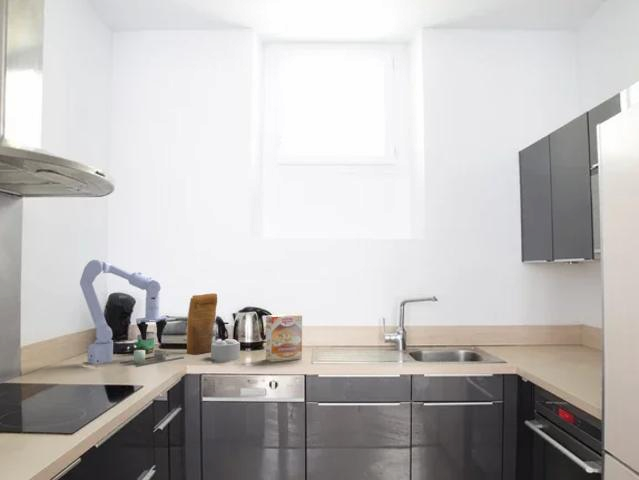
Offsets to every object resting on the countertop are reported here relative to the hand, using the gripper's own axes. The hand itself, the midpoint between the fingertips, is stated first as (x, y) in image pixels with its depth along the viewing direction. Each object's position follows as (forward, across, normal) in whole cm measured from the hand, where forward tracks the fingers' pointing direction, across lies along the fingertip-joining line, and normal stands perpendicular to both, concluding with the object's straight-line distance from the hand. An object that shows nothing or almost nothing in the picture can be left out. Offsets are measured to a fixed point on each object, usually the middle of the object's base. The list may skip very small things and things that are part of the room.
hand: (151, 338), depth 219 cm
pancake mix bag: (+9, +25, -3) cm, 27 cm away
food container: (+10, +7, +13) cm, 17 cm away
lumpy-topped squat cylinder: (+9, +21, -24) cm, 33 cm away
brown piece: (+9, -7, -7) cm, 13 cm away
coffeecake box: (+9, +37, -45) cm, 59 cm away
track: (+9, -4, -7) cm, 12 cm away
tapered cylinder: (+8, -10, -7) cm, 15 cm away
